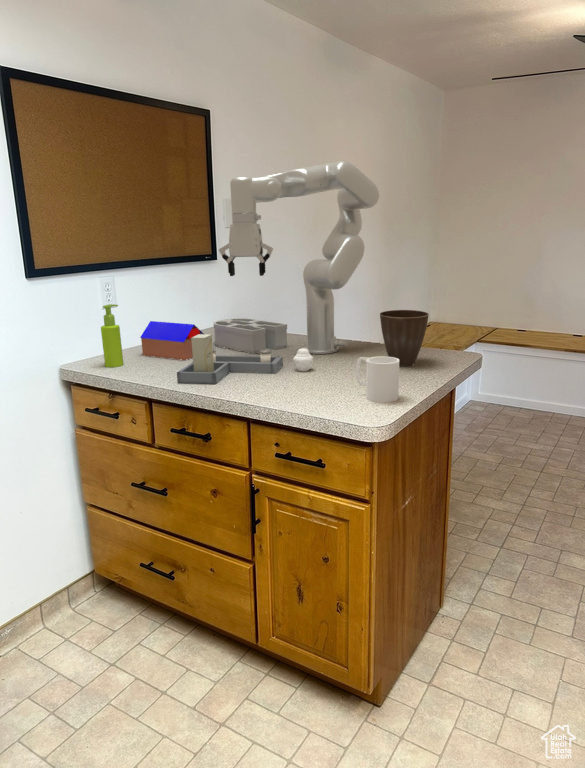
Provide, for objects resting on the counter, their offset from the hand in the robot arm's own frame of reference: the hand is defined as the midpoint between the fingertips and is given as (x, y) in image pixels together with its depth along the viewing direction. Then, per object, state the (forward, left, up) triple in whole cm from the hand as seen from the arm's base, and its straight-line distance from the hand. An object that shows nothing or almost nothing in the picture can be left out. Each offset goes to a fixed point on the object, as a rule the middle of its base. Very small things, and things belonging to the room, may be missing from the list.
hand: (247, 275), depth 186 cm
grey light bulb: (+11, +8, -28) cm, 31 cm away
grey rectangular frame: (+2, +8, -28) cm, 29 cm away
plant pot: (-49, -3, -28) cm, 57 cm away
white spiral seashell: (-19, +8, -28) cm, 35 cm away
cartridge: (-7, +8, -28) cm, 30 cm away
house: (+31, -10, -29) cm, 43 cm away
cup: (-43, +34, -29) cm, 62 cm away
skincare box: (+9, +20, -28) cm, 35 cm away
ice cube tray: (+9, -27, -29) cm, 40 cm away
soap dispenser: (+45, +7, -28) cm, 54 cm away
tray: (+9, +20, -28) cm, 36 cm away
